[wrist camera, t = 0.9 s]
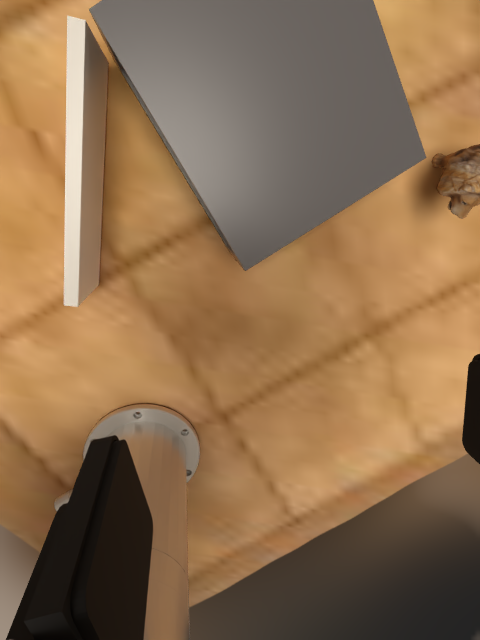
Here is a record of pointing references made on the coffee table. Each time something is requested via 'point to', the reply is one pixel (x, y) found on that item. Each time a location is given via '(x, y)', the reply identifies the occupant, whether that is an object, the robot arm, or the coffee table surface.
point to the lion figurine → (460, 179)
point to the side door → (83, 160)
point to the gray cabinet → (267, 107)
